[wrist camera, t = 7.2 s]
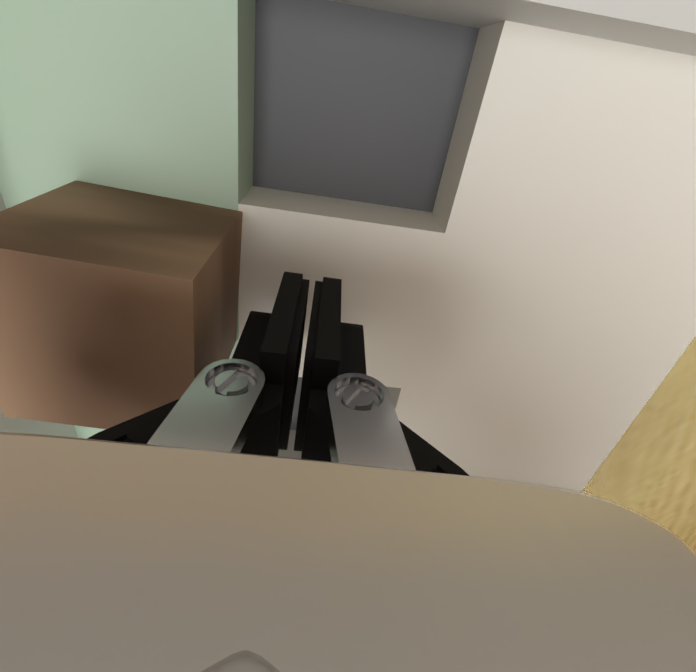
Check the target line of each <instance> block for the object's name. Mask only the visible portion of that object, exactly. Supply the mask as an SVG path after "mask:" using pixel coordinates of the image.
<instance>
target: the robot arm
mask: <svg viewBox="0 0 696 672" xmlns="http://www.w3.org/2000/svg"><path fill="white" fill-rule="evenodd" d="M309 282H310V280H307V279H303V274H300V273H292V272H285V271H284V274H283V277H282V280H281V284H280V287H279V290H278V294H277V297H276V300H275V304H274V307H273V310H272V313H265V312H258V311H251V312H250V314H249V316H248V319H247V321H246V324H245V326H244V329H243V331H242V334H241V336H240V339H239V341H238V344H237V347H236V349H235V352H234V354H233V357H232V359H223V360H220V361H216V362H213V363H211V364H209V365H207V366H206V367H205V368H204V369H203V370H202V371H200V373H199V374H198V375H197V377H196V378H195V379H194V381H193V382H192V383H191V385H190V386H189V387H188V389H187V390H186V392H185V393H184V394H183V396H182V397H181V398H180V399H177V400H175V401H173V402H170V403H168V404H165V405H163V406H161V407H158V408H156V409H153V410H151V411H149V412H146V413H144V414H141V415H139V416H137V417H134V418H132V419H129V420H127V421H125V422H122V423H120V424H117V425H115V426H113V427H110V428H108V429H105V430H103V431H101V432H98V433H96V434H94V435H93V436H91V437H89V438H87V439H85V438H74V437H63V436H53V435H42V434H27V433H11V432H0V672H696V553H695V552H694V551H693V550H692V549H691V548H690V547H689V546H688V545H687V544H686V543H685V542H684V541H683V540H681V539H680V538H679V537H678V536H676V535H675V534H674V533H672V532H671V531H670V530H668V529H667V528H665V527H663V526H662V525H660V524H658V523H656V522H655V521H653V520H651V519H649V518H647V517H645V516H643V515H641V514H639V513H637V512H635V511H632V510H630V509H627V508H625V507H622V506H620V505H618V504H615V503H613V502H610V501H608V500H605V499H601V498H598V497H595V496H591V495H588V494H585V493H582V492H577V491H573V490H568V489H563V488H558V487H554V486H546V485H539V484H531V483H524V482H517V481H509V480H502V479H493V478H483V477H473V476H469V475H468V474H467V473H466V472H465V471H464V470H463V469H462V468H461V467H459V466H458V465H457V464H455V463H454V462H453V461H451V460H450V459H449V458H448V457H446V456H445V455H444V454H442V453H441V452H440V451H438V450H437V449H436V448H434V447H433V446H432V445H431V444H429V443H428V442H427V441H425V440H424V439H423V438H421V437H420V436H419V435H417V434H416V433H415V432H414V431H412V430H411V429H410V428H408V427H407V426H406V425H404V424H403V423H402V422H400V421H399V420H398V417H397V414H396V411H395V408H394V405H393V402H392V399H391V396H390V394H389V392H388V390H387V388H386V387H385V386H384V385H383V384H382V383H381V382H380V381H378V380H377V379H375V378H373V377H371V376H368V375H367V374H366V359H365V345H364V330H363V325H359V324H351V323H343V322H341V289H342V279H336V278H329V277H323V282H322V281H315V287H314V295H313V302H312V309H311V316H310V323H309V330H308V337H307V344H306V351H305V359H304V367H303V375H302V384H301V392H300V401H299V409H298V418H297V426H296V434H295V443H294V451H301V452H302V455H301V459H297V458H287V457H278V452H279V449H281V450H287V447H288V440H289V434H290V427H291V421H292V414H293V408H294V401H295V395H296V388H297V382H298V375H299V369H300V362H301V354H302V345H303V336H304V327H305V318H306V309H307V300H308V291H309Z"/></svg>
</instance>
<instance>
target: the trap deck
mask: <svg viewBox="0 0 696 672" xmlns="http://www.w3.org/2000/svg"><path fill="white" fill-rule="evenodd" d="M76 180H77V181H82V182H87V183H93V184H98V185H103V186H109V187H114V188H119V189H125V190H130V191H135V192H141V193H146V194H151V195H157V196H162V197H167V198H173V199H178V200H183V201H189V202H194V203H199V204H205V205H210V206H215V207H221V208H226V209H231V210H237V211H242V212H243V216H242V235H241V255H240V275H239V295H238V315H237V334H236V342H235V345H234V347H233V350H232V352H231V355H230V357H229V359H232V357H233V354H234V352H235V349H236V347H237V344H238V341H239V339H240V336H241V334H242V331H243V329H244V326H245V324H246V321H247V319H248V316H249V314H250V312H251V311H258V312H265V313H272V310H273V307H274V304H275V300H276V297H277V294H278V290H279V287H280V284H281V280H282V277H283V274H284V271H285V272H292V273H300V274H303V279H307V280H310V282H309V291H308V300H307V309H306V318H305V327H304V336H303V345H302V354H301V362H300V369H299V375H298V382H297V388H296V395H295V401H294V408H293V414H292V421H291V427H290V434H289V440H288V447H287V450H281V449H279V452H278V457H287V458H297V459H301V455H302V452H301V451H294V443H295V434H296V426H297V418H298V409H299V401H300V392H301V384H302V375H303V367H304V359H305V351H306V344H307V337H308V330H309V323H310V316H311V309H312V302H313V295H314V287H315V281H322V282H323V277H329V278H336V279H342V289H341V322H343V323H351V324H359V325H363V330H364V345H365V359H366V374H367V375H368V376H371V377H373V378H375V379H377V380H378V381H380V382H381V383H382V384H383V385H384V386H385V387H386V388H387V390H388V392H389V394H390V396H391V399H392V402H393V405H394V408H395V411H396V414H397V417H398V420H399V421H400V422H402V423H403V424H404V425H406V426H407V427H408V428H410V429H411V430H412V431H414V432H415V433H416V434H417V435H419V436H420V437H421V438H423V439H424V440H425V441H427V442H428V443H429V444H431V445H432V446H433V447H434V448H436V449H437V450H438V451H440V452H441V453H442V454H444V455H445V456H446V457H448V458H449V459H450V460H451V461H453V462H454V463H455V464H457V465H458V466H459V467H461V468H462V469H463V470H464V471H465V472H466V473H467V474H468V475H469V476H473V477H483V478H493V479H502V480H509V481H517V482H524V483H531V484H539V485H546V486H554V487H558V488H563V489H568V490H573V491H577V492H582V490H583V489H584V487H585V486H586V485H587V483H588V482H589V481H590V479H591V478H592V477H593V475H594V474H595V473H596V471H597V470H598V468H599V467H600V466H601V464H602V463H603V462H604V460H605V459H606V458H607V456H608V455H609V453H610V452H611V451H612V449H613V448H614V447H615V445H616V444H617V443H618V441H619V440H620V438H621V437H622V436H623V434H624V433H625V432H626V430H627V429H628V428H629V426H630V425H631V423H632V422H633V421H634V419H635V418H636V417H637V415H638V414H639V413H640V411H641V410H642V408H643V407H644V406H645V404H646V403H647V402H648V400H649V399H650V398H651V396H652V395H653V393H654V392H655V391H656V389H657V388H658V387H659V385H660V384H661V383H662V381H663V380H664V378H665V377H666V376H667V374H668V373H669V372H670V370H671V369H672V368H673V366H674V365H675V364H676V362H677V361H678V359H679V358H680V357H681V355H682V354H683V353H684V351H685V350H686V349H687V347H688V346H689V344H690V343H691V342H692V340H693V339H694V338H695V336H696V0H0V211H2V210H5V209H7V208H10V207H12V206H15V205H17V204H20V203H22V202H24V201H27V200H29V199H32V198H34V197H37V196H39V195H41V194H44V193H46V192H49V191H51V190H54V189H56V188H59V187H61V186H63V185H66V184H68V183H71V182H73V181H76ZM103 430H105V429H100V428H92V427H84V426H76V425H68V424H60V423H52V422H44V421H36V420H28V419H20V418H12V417H4V416H3V414H2V411H1V408H0V432H11V433H27V434H42V435H53V436H63V437H74V438H85V439H87V438H89V437H91V436H93V435H94V434H96V433H98V432H101V431H103Z"/></svg>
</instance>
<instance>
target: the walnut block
mask: <svg viewBox="0 0 696 672" xmlns="http://www.w3.org/2000/svg"><path fill="white" fill-rule="evenodd" d="M242 216H243V212H242V211H237V210H231V209H226V208H221V207H215V206H210V205H205V204H199V203H194V202H189V201H183V200H178V199H173V198H167V197H162V196H157V195H151V194H146V193H141V192H135V191H130V190H125V189H119V188H114V187H109V186H103V185H98V184H93V183H87V182H82V181H77V180H76V181H73V182H71V183H68V184H66V185H63V186H61V187H59V188H56V189H54V190H51V191H49V192H46V193H44V194H41V195H39V196H37V197H34V198H32V199H29V200H27V201H24V202H22V203H20V204H17V205H15V206H12V207H10V208H7V209H5V210H2V211H0V408H1V411H2V414H3V416H4V417H12V418H20V419H28V420H36V421H44V422H52V423H60V424H68V425H76V426H84V427H92V428H100V429H108V428H110V427H113V426H115V425H117V424H120V423H122V422H125V421H127V420H129V419H132V418H134V417H137V416H139V415H141V414H144V413H146V412H149V411H151V410H153V409H156V408H158V407H161V406H163V405H165V404H168V403H170V402H173V401H175V400H177V399H180V398H181V397H182V396H183V394H184V393H185V392H186V390H187V389H188V387H189V386H190V385H191V383H192V382H193V381H194V379H195V378H196V377H197V375H198V374H199V373H200V371H202V370H203V369H204V368H205V367H206V366H207V365H209V364H211V363H213V362H216V361H220V360H223V359H229V357H230V355H231V352H232V350H233V347H234V345H235V342H236V334H237V315H238V295H239V275H240V255H241V235H242Z"/></svg>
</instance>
